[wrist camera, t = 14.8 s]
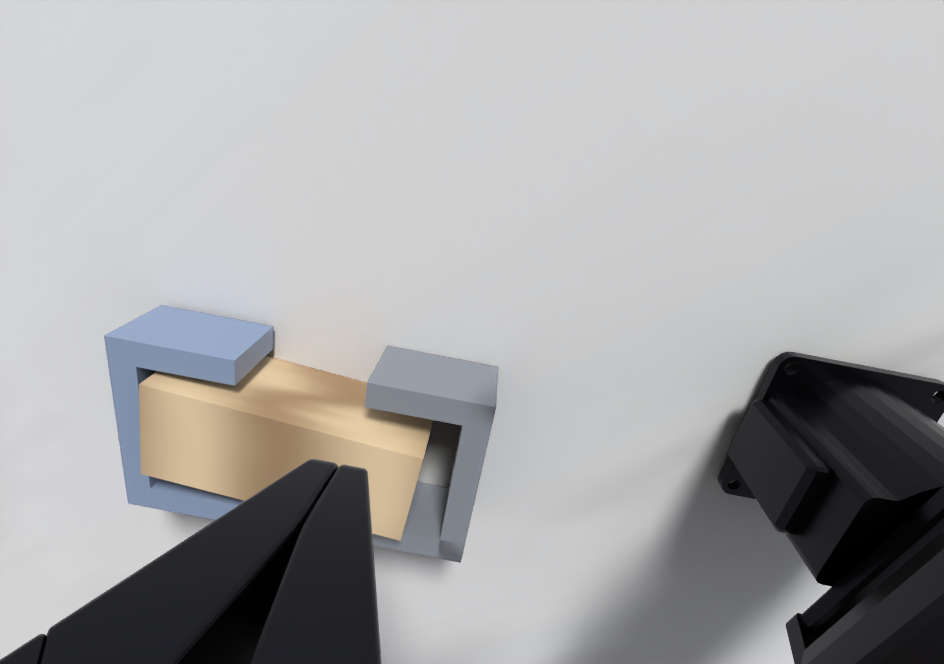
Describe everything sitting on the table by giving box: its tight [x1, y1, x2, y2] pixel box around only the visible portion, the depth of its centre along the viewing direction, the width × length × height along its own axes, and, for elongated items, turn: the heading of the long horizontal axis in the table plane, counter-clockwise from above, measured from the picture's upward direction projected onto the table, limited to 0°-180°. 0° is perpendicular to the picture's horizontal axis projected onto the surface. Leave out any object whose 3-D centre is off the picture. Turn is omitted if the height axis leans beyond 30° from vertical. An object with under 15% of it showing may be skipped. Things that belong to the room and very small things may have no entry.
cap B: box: [104, 305, 273, 520], centre depth 20 cm, size 4×8×3 cm, turn 170°
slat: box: [139, 356, 433, 541], centre depth 20 cm, size 10×4×4 cm, turn 75°
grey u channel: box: [365, 346, 498, 563], centre depth 20 cm, size 4×8×3 cm, turn 170°
